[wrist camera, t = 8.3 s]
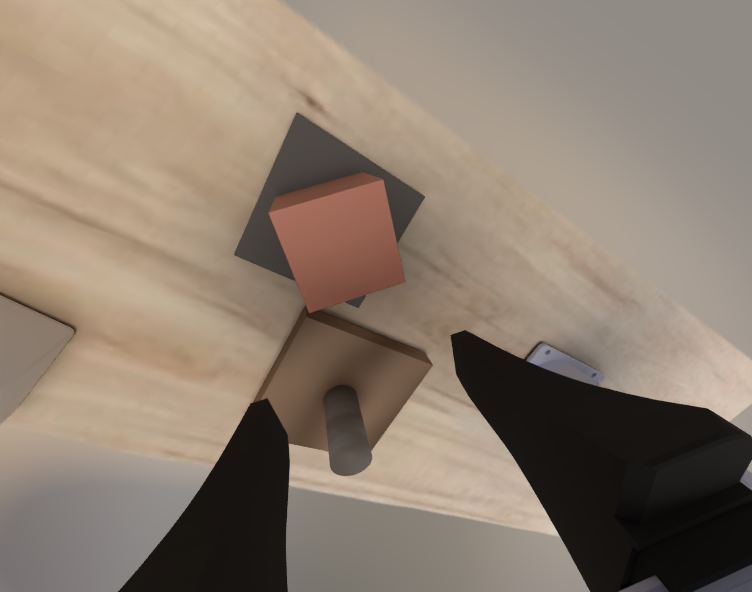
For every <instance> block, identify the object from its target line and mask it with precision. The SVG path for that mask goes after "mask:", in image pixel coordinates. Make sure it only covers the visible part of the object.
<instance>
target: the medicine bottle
mask: <svg viewBox="0 0 752 592" xmlns="http://www.w3.org/2000/svg"><path fill="white" fill-rule="evenodd" d="M73 334H74V330H73V329H72V328H71V327H69V326H67V325H64V324H62V323H60V322H58V321H56V320H54V319H51V318H49V317H47V316H45V315H43V314H40V313H38V312H36V311H34V310H32V309H30V308H27V307H25V306H23V305H21V304H19V303H17V302H14V301H12V300H10V299H8V298H6V297H4V296H1V295H0V424H2V423H3V422H4V421H5V420H6V419H7V418H8V417H9V416H10V415H11V414H12V413H13V412H14V411H15V410H16V409H17V408H18V406H19V405H20V404H21V402H22V401H23V400H24V399H25V397H26V396H27V395H28V393H29V392H30V391H31V389H32V388H33V387H34V386H35V384H36V383H37V382H38V380H39V379H40V378H41V376H42V375H43V374H44V373H45V371H46V370H47V369H48V367H49V366H50V365H51V364H52V362H53V361H54V360H55V358H56V357H57V356H58V354H59V353H60V352H61V351H62V349H63V348H64V347H65V345H66V344H67V343H68V341H69V340H70V339H71V338H72V336H73Z"/></svg>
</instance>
